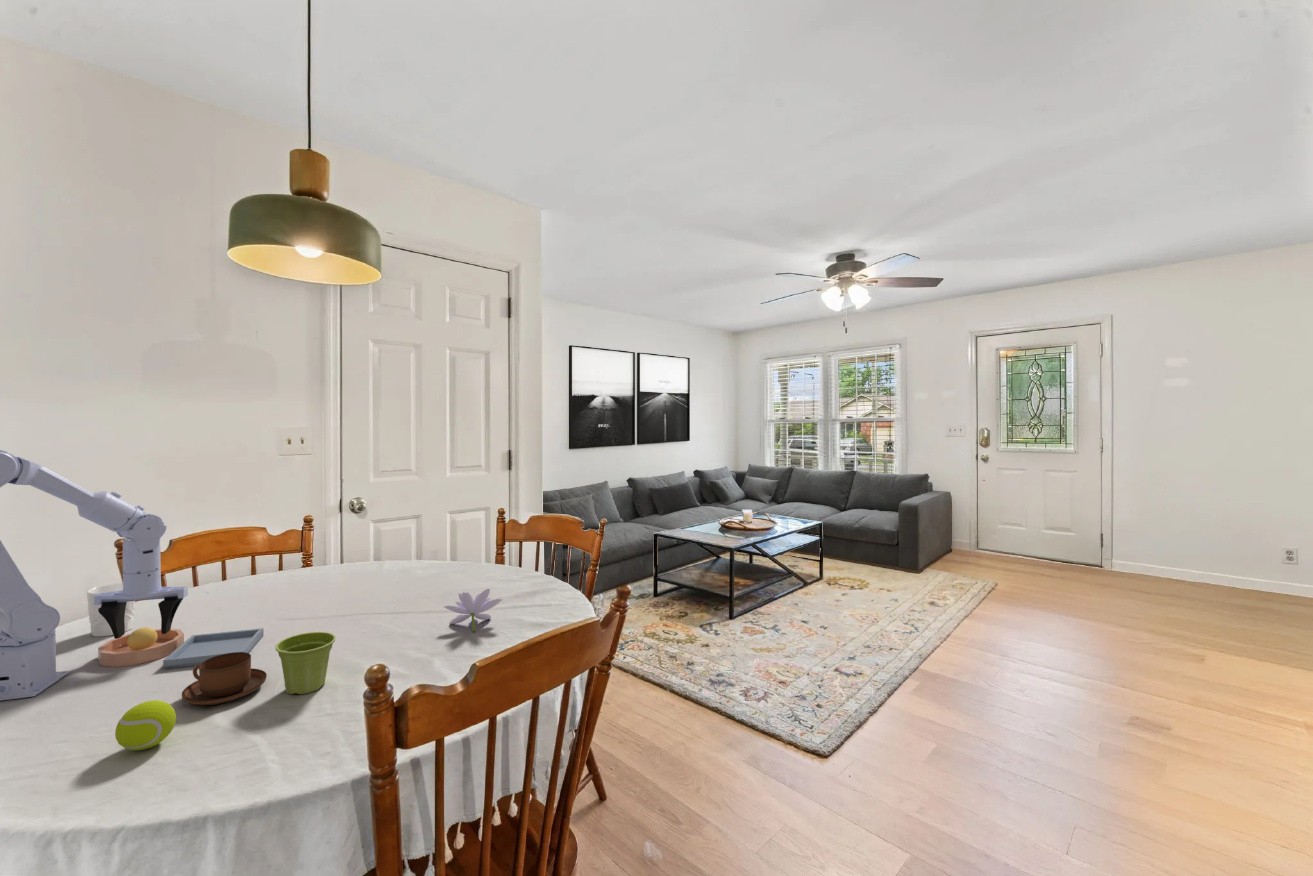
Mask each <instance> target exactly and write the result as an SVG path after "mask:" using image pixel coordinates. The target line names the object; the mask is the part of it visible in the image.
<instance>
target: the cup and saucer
mask: <svg viewBox="0 0 1313 876" xmlns="http://www.w3.org/2000/svg"><path fill="white" fill-rule="evenodd" d="M198 670H199V673H198ZM267 675H268V674H267V672H265V670H262V669H259V668H253V667H252V655H251V653H246V652H233V653H226V654H222V655H218V656H215V657H212V658H209V659H207V660H205V661H204V662H202V663H201V664H198V665H196V666H193V669H192V676H193V677H194V679H195V680H196V681H194V682H192V683H190V684H189V685H187V686H186V687H185V688H184V689H183V690H182V692H181V697H182V700H183V701H185V702H186V703H189V704H191V705H196V706H211V705H218V704H224V703H228V702H230V701H231V702H232V701H234V700H238V699H240V698H243V697H245V696H247V695H249V694H251V693H253V692H255V691H256V690H257V689H259V688H260V687H261V686H262V685H263V684H264V683H265V682H266V680H267V677H268V676H267Z"/></svg>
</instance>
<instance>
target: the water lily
mask: <svg viewBox="0 0 1313 876" xmlns="http://www.w3.org/2000/svg"><path fill="white" fill-rule="evenodd" d="M489 595H490V588H487V589H484V590H483V591H481V592H480V593H478V594H477V595H476V596H475V598H474V600H473V597H472V595H471V593H469V592H468V591H467V592H462V593H461V592H460V593H458V595H457V596H458V598H459V601H460V602H459V601H455V604H456V606H454V605H446V606H443V608H445V609H446V610H448V611H451V612H453V613H456V614H459V615H456V617H455V618H454V619H452V620H450V622H449V625H455V624H456V625H457V624H460V623H462V622H465V621H466V620H468V619H469V618H470V617H471V628H472V633H476V625H475V619H478V620H482V621H487V620H488V619H489V620H491V618H492V617H491V615H490V614H488V613H484V612H486V611H488V610H490V609H492V608H494V607H496V606H497V605H498V604H499V603H501V602H502V601H503V599H502V598H496V599H492V600H491V597H489Z"/></svg>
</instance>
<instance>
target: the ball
mask: <svg viewBox="0 0 1313 876" xmlns="http://www.w3.org/2000/svg"><path fill="white" fill-rule="evenodd" d="M129 634H130V635H129V637H128V639H127V644H128V646H129V648H131V649H132V650H140V649H145V648H149V647H151V646H153V645H154V644H155V642H156V640H157V632H156V631H155V629H154V628H151V627H139V628H137V629H135V630H134V631H132V632H131V633H129Z"/></svg>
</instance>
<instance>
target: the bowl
mask: <svg viewBox="0 0 1313 876" xmlns="http://www.w3.org/2000/svg"><path fill="white" fill-rule="evenodd" d="M154 630H155V631H156V632H157V640H156V642H155V644H154V645H153V646H151V647H149V648H145V649H140V650H132V649H131V648H129V646H128V644H127V639H128V637H129V635H130V634H131V633H128V634H124V635H123V636H121V637H120V638H117V639H115V638H112V639H110V640H107V641H105V643H103V644H101V645H100V646H99V647H98V648H97V649H98V650H97V652H98V653H97V655H98V657H97V658H98V659H97V661H98V663H99V665H100V666H105V667H111V668H112V667H114V668H117V667H126V666H135V665H136V666H137V665H140V664H144V663H147V662H152V661H156V660H159V659H160V660H161V659H163V658H166V657H168V656H169V655H170V654H171V653H172V652H174V651H175V650H176V649H177V648H178V647H179V646H181V645H182V644H183V643H184V642H185V633H184V632H183V631H182V630H181V629H179V628H178V629H176V628H171V629H170V631H169V632H167V633H166V634H162V632H161V628H156V629H154Z"/></svg>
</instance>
